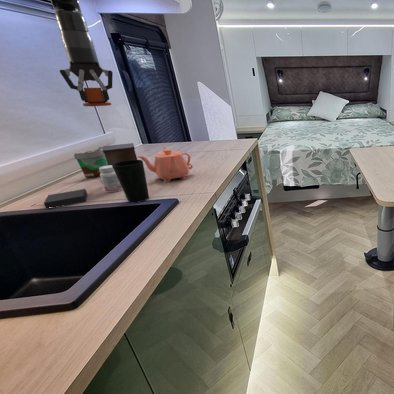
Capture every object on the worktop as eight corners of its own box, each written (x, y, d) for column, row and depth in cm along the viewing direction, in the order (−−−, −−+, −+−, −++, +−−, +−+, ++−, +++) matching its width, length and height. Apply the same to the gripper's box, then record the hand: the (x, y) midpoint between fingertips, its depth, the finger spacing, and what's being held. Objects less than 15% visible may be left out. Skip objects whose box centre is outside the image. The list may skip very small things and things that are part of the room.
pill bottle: (104, 190, 100) (96, 167, 97) (121, 186, 103) (113, 164, 100) (107, 193, 97) (98, 169, 94) (124, 190, 100) (116, 166, 97)
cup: (158, 195, 95) (148, 160, 91) (138, 204, 88) (126, 167, 84) (139, 194, 97) (128, 159, 92) (118, 202, 90) (105, 165, 85)
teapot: (179, 184, 105) (172, 154, 101) (143, 183, 107) (134, 154, 103) (202, 172, 119) (196, 145, 115) (169, 171, 120) (163, 145, 116)
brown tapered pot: (113, 182, 108) (102, 150, 104) (113, 176, 115) (103, 146, 111) (143, 177, 114) (134, 146, 109) (141, 171, 120) (133, 143, 116)
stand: (46, 209, 86) (43, 202, 85) (50, 200, 92) (48, 195, 91) (85, 201, 91) (83, 195, 90) (87, 194, 97) (85, 188, 96)
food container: (98, 179, 112) (89, 153, 108) (82, 179, 112) (72, 153, 108) (121, 169, 123) (114, 146, 119) (107, 170, 123) (99, 146, 119)
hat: (82, 106, 96) (76, 88, 94) (84, 105, 102) (78, 87, 100) (111, 105, 101) (106, 87, 98) (111, 104, 106) (106, 87, 104)
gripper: (107, 49, 101) (121, 100, 108) (51, 47, 93) (70, 102, 100) (107, 47, 96) (122, 101, 102) (47, 44, 88) (67, 103, 94)
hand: (96, 101), depth 101 cm, fingers closed on hat, 4 cm apart
